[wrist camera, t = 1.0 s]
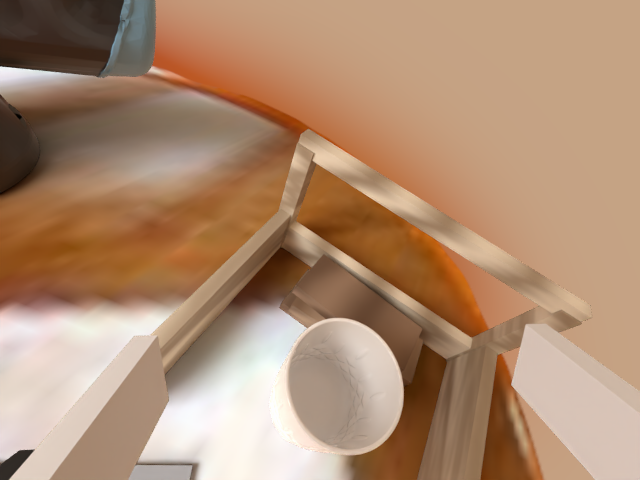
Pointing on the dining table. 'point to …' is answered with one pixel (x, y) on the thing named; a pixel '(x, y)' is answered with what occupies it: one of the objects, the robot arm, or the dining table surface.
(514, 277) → the frame
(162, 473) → the rubber mat
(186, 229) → the dining table surface
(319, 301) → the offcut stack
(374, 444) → the white cup
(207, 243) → the dining table surface
